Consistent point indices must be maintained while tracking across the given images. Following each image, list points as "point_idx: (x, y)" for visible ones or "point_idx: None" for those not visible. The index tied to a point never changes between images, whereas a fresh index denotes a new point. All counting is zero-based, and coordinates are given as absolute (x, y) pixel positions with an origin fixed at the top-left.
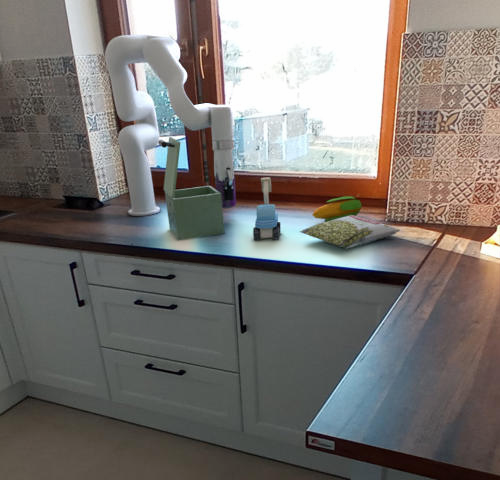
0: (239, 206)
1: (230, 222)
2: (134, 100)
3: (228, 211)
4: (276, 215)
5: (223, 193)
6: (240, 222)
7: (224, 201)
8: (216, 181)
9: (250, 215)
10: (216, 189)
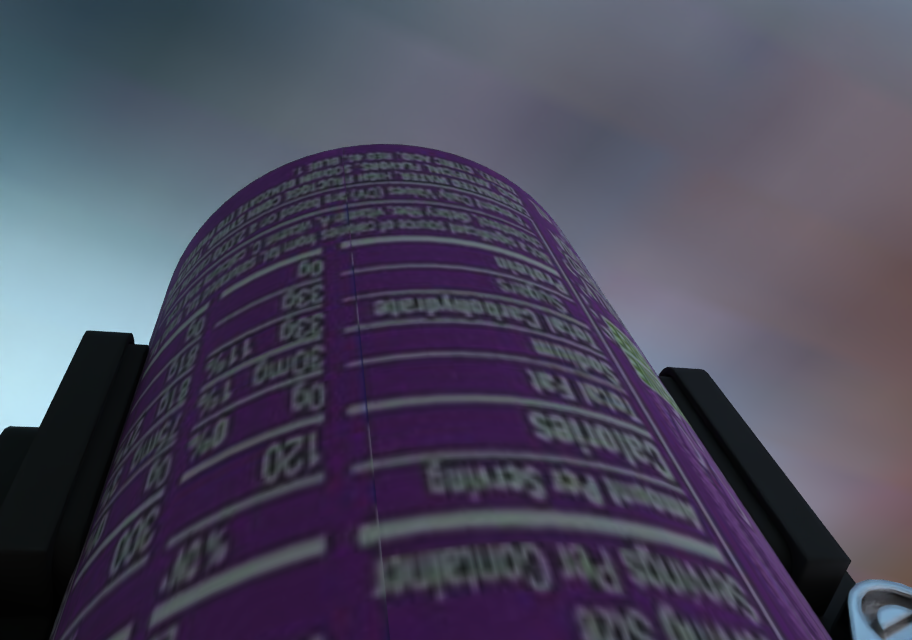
0: (865, 567)
1: (158, 207)
2: None
3: (777, 398)
4: None
5: (131, 425)
6: (68, 336)
7: (165, 311)
8: (414, 589)
9: None
10: (434, 340)
